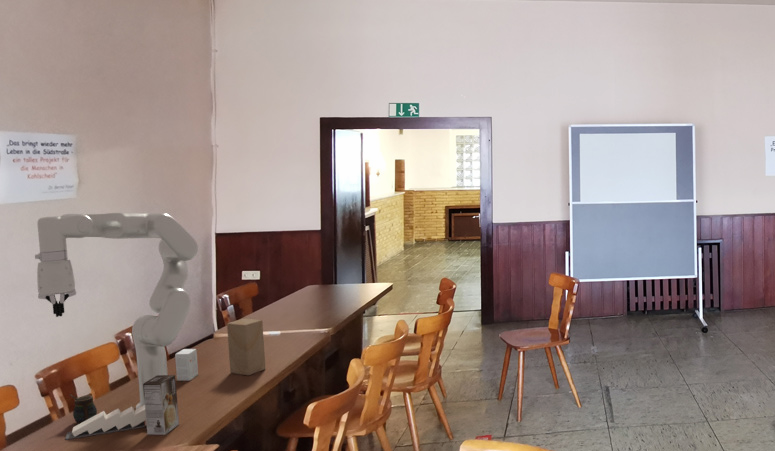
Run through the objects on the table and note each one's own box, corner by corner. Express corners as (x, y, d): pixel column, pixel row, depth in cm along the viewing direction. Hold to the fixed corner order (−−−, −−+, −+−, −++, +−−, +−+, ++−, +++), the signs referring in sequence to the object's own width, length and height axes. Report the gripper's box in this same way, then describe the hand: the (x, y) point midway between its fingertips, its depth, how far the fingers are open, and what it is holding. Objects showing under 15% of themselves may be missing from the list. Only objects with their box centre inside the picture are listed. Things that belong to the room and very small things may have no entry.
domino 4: (116, 420, 229) (145, 404, 232) (118, 424, 229) (147, 408, 232) (115, 425, 224) (145, 408, 227) (118, 429, 224) (148, 413, 227)
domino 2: (88, 424, 226) (118, 408, 229) (90, 429, 226) (120, 412, 229) (87, 430, 221) (118, 413, 224) (89, 434, 222) (120, 417, 224)
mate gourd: (100, 422, 234) (96, 392, 233) (75, 428, 230) (71, 397, 229) (95, 416, 240) (92, 387, 239) (71, 421, 236) (68, 392, 235)
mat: (67, 433, 225) (67, 432, 225) (144, 421, 232) (144, 420, 232) (65, 439, 219) (65, 438, 219) (145, 427, 227) (145, 426, 227)
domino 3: (102, 422, 228) (131, 406, 230) (104, 427, 228) (134, 410, 231) (101, 427, 223) (131, 410, 226) (104, 432, 223) (134, 415, 226)
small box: (185, 374, 285) (183, 348, 285) (198, 374, 285) (196, 348, 284) (176, 380, 278) (174, 354, 277) (190, 380, 277) (188, 353, 276)
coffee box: (161, 424, 229) (157, 374, 227) (179, 424, 228) (176, 374, 226) (146, 434, 220) (142, 383, 218) (166, 435, 219) (161, 383, 217)
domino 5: (129, 418, 230) (159, 402, 233) (132, 422, 231) (161, 406, 233) (129, 423, 226) (159, 406, 228) (132, 427, 226) (162, 410, 229)
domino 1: (73, 427, 225) (103, 410, 227) (75, 431, 225) (106, 414, 228) (71, 432, 220) (103, 415, 223) (74, 436, 220) (105, 419, 223)
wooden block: (248, 375, 279) (244, 325, 278) (229, 373, 284) (226, 323, 283) (266, 369, 287) (262, 319, 286) (247, 366, 293) (244, 318, 291)
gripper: (25, 260, 215) (30, 321, 216) (79, 255, 220) (84, 315, 221) (28, 257, 222) (34, 316, 223) (81, 253, 227) (86, 311, 228)
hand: (59, 315), depth 222 cm, fingers closed
